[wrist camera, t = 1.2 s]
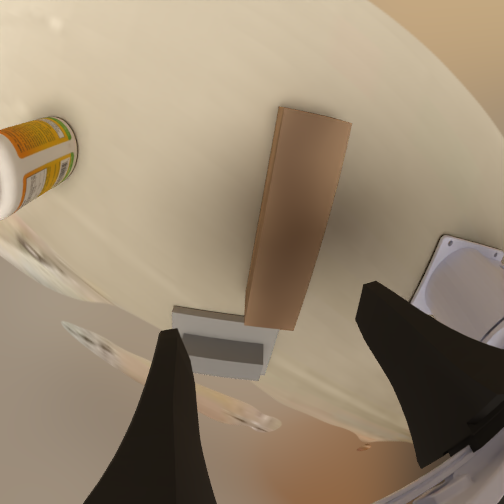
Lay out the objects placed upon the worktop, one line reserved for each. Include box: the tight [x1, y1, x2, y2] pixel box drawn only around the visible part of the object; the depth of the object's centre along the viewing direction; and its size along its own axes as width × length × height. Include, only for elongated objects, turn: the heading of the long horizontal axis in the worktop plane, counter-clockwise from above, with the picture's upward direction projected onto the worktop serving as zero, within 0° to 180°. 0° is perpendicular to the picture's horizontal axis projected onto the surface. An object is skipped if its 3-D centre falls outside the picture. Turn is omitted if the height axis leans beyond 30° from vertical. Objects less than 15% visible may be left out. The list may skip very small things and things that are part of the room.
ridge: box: [172, 306, 279, 381], centre depth 24 cm, size 9×7×3 cm
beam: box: [244, 107, 352, 331], centre depth 18 cm, size 4×14×4 cm, turn 171°
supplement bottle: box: [0, 117, 77, 220], centre depth 13 cm, size 5×5×10 cm
